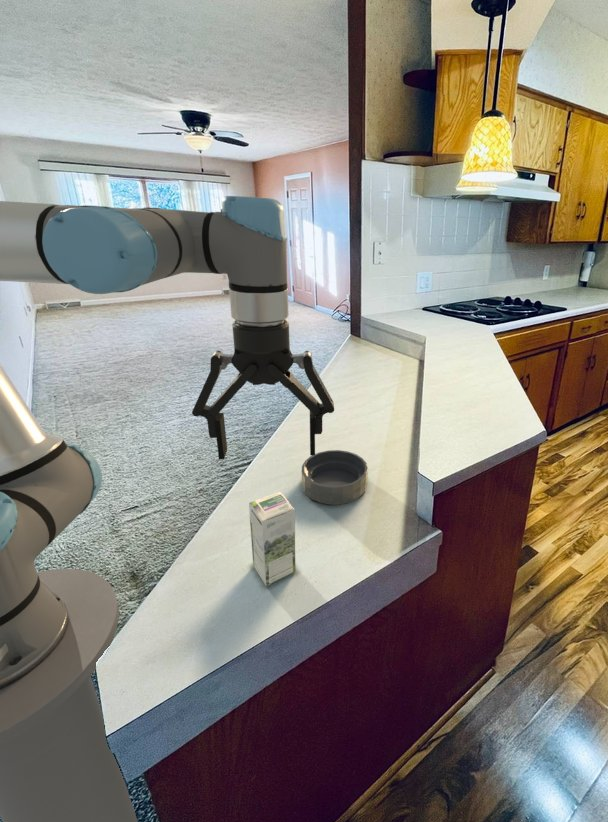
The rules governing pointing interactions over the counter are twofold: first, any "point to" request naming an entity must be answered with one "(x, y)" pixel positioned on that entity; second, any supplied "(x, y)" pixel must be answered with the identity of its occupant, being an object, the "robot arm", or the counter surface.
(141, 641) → the counter surface
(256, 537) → the syrup box
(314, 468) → the bowl
